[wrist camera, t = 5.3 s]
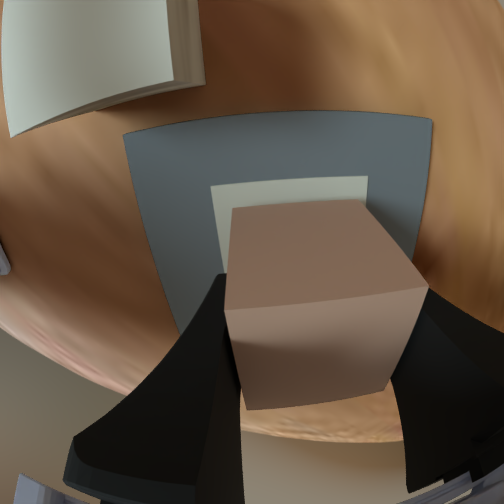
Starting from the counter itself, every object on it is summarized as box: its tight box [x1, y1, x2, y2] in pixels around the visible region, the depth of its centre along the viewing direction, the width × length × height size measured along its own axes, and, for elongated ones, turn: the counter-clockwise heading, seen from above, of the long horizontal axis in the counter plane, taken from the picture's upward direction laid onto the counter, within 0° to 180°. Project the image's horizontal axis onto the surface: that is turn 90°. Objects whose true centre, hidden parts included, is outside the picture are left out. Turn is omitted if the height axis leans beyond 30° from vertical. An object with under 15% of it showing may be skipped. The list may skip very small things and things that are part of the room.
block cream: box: [1, 0, 206, 138], centre depth 5 cm, size 4×4×5 cm
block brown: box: [224, 199, 429, 410], centre depth 9 cm, size 4×4×5 cm
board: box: [123, 110, 432, 336], centre depth 12 cm, size 12×11×1 cm
